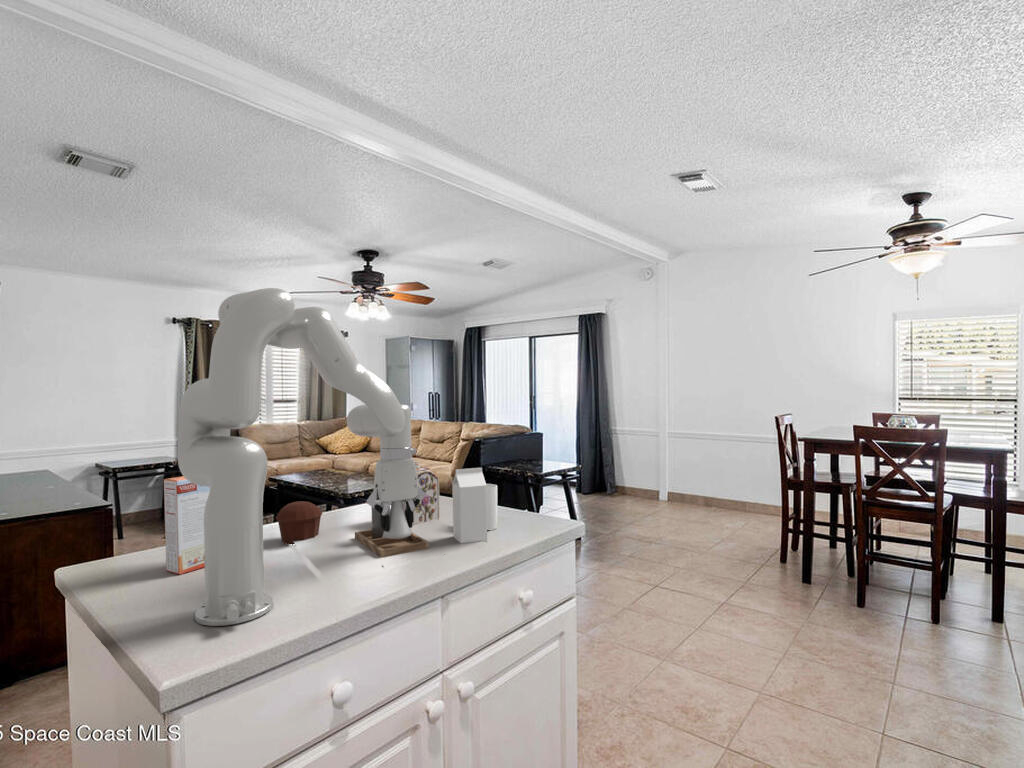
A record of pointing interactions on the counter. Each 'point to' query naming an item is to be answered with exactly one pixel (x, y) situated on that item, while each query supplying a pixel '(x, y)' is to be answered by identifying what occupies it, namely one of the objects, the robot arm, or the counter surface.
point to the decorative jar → (430, 503)
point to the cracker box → (184, 524)
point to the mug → (491, 506)
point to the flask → (397, 522)
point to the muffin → (298, 521)
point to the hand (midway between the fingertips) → (397, 527)
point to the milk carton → (469, 505)
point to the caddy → (391, 544)
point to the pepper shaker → (377, 522)
